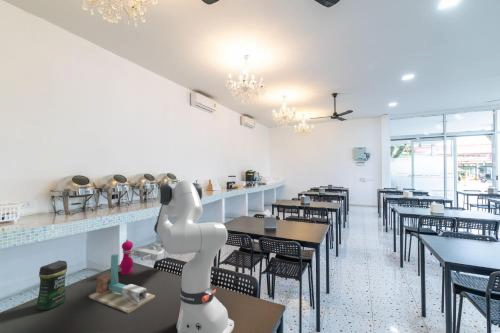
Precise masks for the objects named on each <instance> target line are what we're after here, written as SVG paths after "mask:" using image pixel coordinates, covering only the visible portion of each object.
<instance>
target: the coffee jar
mask: <svg viewBox="0 0 500 333" xmlns="http://www.w3.org/2000/svg"><path fill="white" fill-rule="evenodd" d="M67 270H68V263H67V261H65V260H57V261H55V262H51V263H48V264H46V265H42V266H41V267H39V273H38V277H39V283H40V284H39V288H38V289H39V290H38V296H37V302H36V309H37V310H39V311H47V310H52V309H54V308H56V307H57V306H59V305H61V304H63V303H64V302H65V301H66V298H67V297H66V296H67V294H66V293H67V292H66V274H67Z"/></svg>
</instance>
